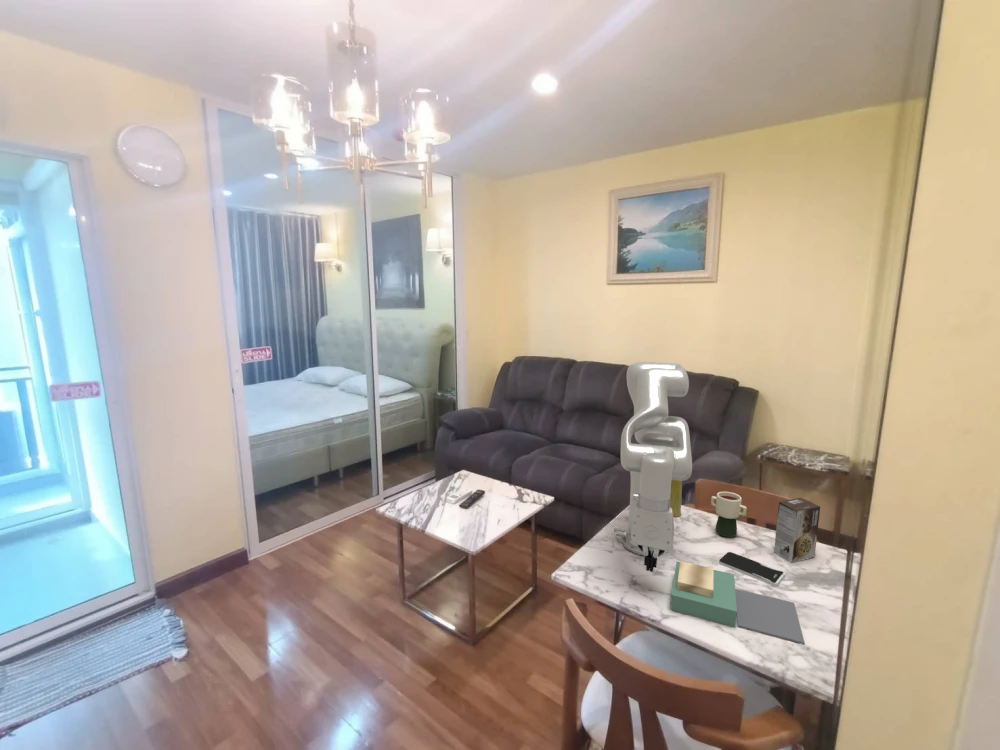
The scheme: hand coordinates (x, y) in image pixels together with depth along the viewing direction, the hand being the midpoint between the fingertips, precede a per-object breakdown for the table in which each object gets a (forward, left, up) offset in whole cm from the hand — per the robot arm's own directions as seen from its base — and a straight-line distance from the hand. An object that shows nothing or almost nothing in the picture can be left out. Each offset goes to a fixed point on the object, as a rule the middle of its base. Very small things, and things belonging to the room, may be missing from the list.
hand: (650, 568), depth 119 cm
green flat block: (+13, 0, -5) cm, 14 cm away
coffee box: (+37, +34, -5) cm, 51 cm away
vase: (+2, +47, -5) cm, 47 cm away
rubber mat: (+27, 0, -5) cm, 27 cm away
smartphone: (+25, +20, -6) cm, 33 cm away
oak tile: (+11, 0, -1) cm, 11 cm away
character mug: (+19, +39, -5) cm, 44 cm away
